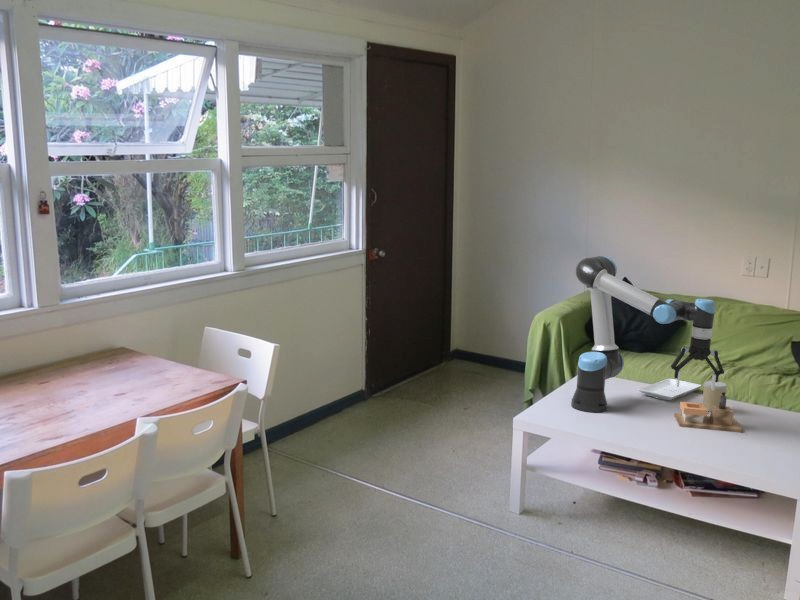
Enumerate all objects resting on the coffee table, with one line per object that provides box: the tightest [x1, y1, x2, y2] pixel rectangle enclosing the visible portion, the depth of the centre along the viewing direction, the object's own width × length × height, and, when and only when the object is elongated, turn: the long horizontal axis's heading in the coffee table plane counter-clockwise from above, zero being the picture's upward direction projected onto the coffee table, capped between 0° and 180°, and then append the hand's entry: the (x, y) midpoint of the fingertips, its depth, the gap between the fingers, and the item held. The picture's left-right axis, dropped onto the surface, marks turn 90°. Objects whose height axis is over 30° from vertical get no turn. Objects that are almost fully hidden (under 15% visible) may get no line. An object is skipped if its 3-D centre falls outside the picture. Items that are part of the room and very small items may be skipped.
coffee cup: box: [702, 380, 727, 413], centre depth 319 cm, size 9×9×12 cm
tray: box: [638, 378, 703, 401], centre depth 343 cm, size 17×32×4 cm, turn 134°
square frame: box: [679, 401, 708, 416], centre depth 301 cm, size 9×9×2 cm
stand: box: [673, 395, 744, 433], centre depth 300 cm, size 24×14×12 cm, turn 78°
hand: (694, 387), depth 300 cm, fingers open, 13 cm apart
